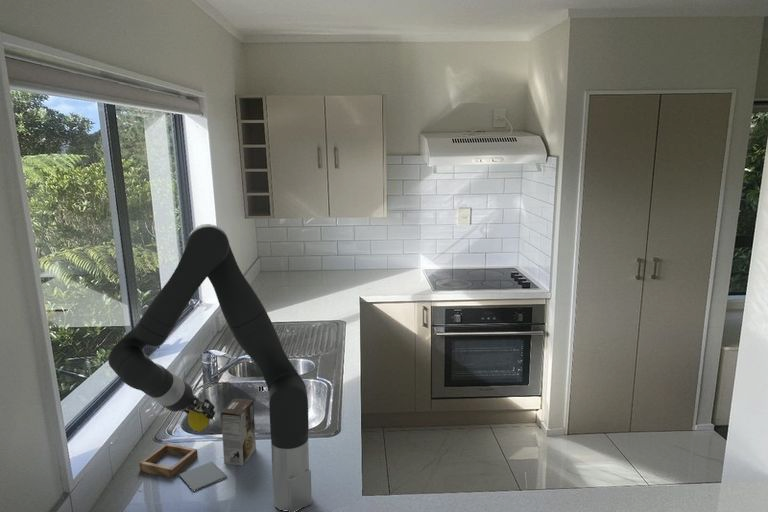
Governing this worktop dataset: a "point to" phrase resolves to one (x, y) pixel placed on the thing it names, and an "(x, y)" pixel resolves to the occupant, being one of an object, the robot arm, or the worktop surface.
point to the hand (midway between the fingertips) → (202, 413)
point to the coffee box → (238, 431)
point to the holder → (166, 471)
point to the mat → (203, 475)
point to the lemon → (197, 421)
